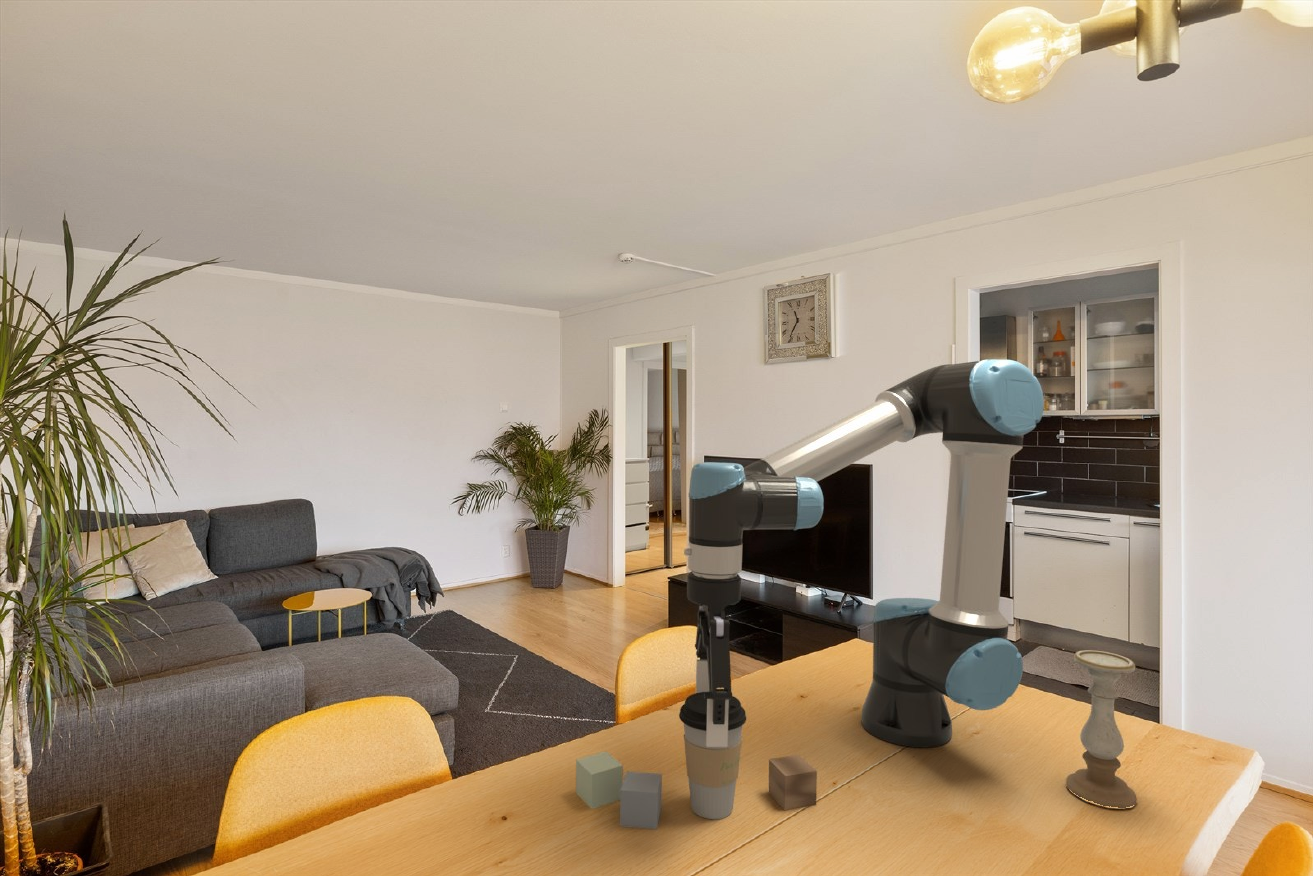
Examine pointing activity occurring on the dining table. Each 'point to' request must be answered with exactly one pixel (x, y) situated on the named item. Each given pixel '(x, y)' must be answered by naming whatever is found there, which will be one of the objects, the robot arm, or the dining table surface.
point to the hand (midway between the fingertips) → (710, 723)
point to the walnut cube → (792, 782)
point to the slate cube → (640, 800)
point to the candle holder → (1102, 734)
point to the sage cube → (599, 779)
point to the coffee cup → (711, 758)
